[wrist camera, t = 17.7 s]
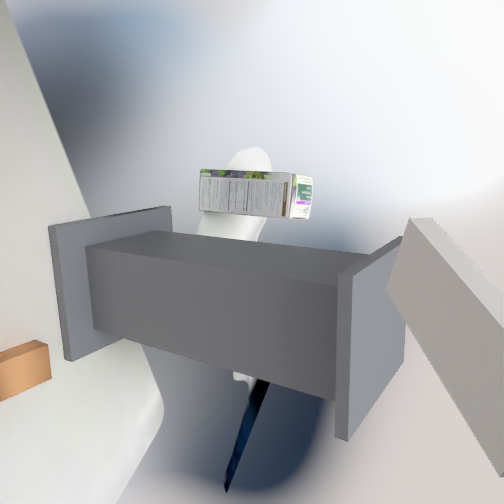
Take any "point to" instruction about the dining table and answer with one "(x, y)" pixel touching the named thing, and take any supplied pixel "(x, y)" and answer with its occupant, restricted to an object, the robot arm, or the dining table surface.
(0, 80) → the dining table surface
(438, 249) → the robot arm
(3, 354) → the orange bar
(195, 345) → the gray pedestal stand
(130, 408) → the dining table surface
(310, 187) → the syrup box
